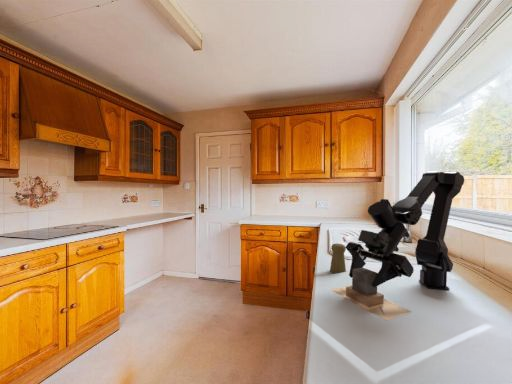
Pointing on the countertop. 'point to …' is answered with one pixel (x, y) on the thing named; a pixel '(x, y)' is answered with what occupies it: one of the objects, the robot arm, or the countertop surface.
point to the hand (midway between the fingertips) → (360, 281)
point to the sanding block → (364, 289)
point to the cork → (338, 259)
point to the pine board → (384, 311)
